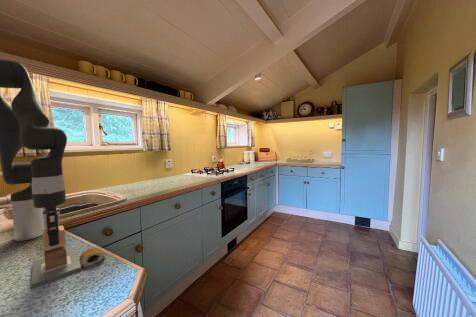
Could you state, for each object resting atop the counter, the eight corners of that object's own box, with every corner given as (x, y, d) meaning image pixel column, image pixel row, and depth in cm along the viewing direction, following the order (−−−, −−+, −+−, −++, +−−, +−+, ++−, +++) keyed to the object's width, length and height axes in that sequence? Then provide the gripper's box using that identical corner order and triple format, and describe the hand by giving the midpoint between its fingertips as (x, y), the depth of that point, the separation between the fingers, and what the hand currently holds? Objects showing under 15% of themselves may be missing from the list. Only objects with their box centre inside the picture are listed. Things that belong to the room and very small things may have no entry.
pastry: (78, 257, 70) (77, 247, 70) (101, 250, 75) (100, 240, 74) (81, 269, 63) (80, 257, 63) (106, 260, 68) (105, 250, 67)
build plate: (33, 264, 66) (32, 261, 66) (75, 251, 74) (75, 248, 74) (31, 288, 55) (31, 284, 55) (81, 269, 63) (81, 266, 62)
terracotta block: (43, 244, 64) (42, 229, 63) (64, 239, 67) (62, 225, 67) (44, 250, 60) (42, 234, 60) (65, 244, 64) (64, 229, 64)
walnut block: (45, 264, 64) (44, 249, 64) (65, 257, 68) (64, 243, 68) (45, 270, 61) (44, 254, 60) (67, 263, 64) (65, 248, 64)
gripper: (33, 189, 65) (37, 239, 66) (31, 196, 55) (37, 255, 56) (63, 185, 70) (67, 232, 71) (66, 191, 60) (71, 245, 61)
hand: (54, 242), depth 64 cm, fingers closed on terracotta block, 5 cm apart
